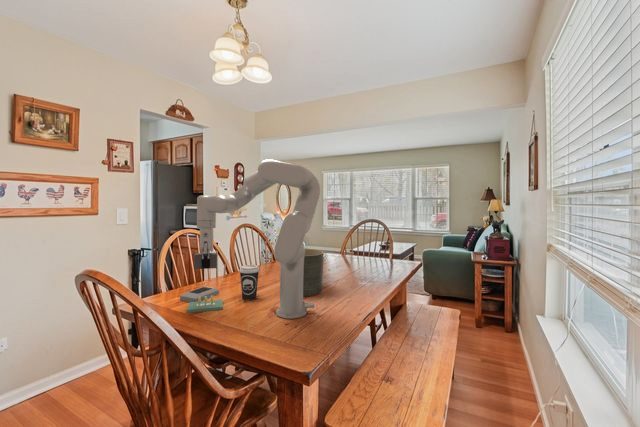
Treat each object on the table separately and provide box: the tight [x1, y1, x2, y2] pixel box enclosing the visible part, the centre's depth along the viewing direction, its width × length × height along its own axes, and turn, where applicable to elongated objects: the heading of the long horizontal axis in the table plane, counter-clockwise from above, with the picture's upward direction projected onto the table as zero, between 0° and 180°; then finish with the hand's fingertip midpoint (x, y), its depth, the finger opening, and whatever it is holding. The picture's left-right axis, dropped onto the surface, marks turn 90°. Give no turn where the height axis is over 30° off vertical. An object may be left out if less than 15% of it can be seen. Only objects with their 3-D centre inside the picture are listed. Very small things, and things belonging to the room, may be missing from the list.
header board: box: [186, 296, 224, 314], centre depth 130 cm, size 14×10×5 cm
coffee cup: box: [238, 264, 261, 301], centre depth 143 cm, size 10×10×15 cm
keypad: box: [179, 285, 220, 303], centre depth 144 cm, size 10×4×15 cm
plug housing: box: [193, 252, 218, 270], centre depth 129 cm, size 9×4×6 cm, turn 108°
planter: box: [303, 248, 325, 298], centre depth 156 cm, size 22×22×20 cm
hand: (205, 266), depth 129 cm, fingers closed on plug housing, 4 cm apart
